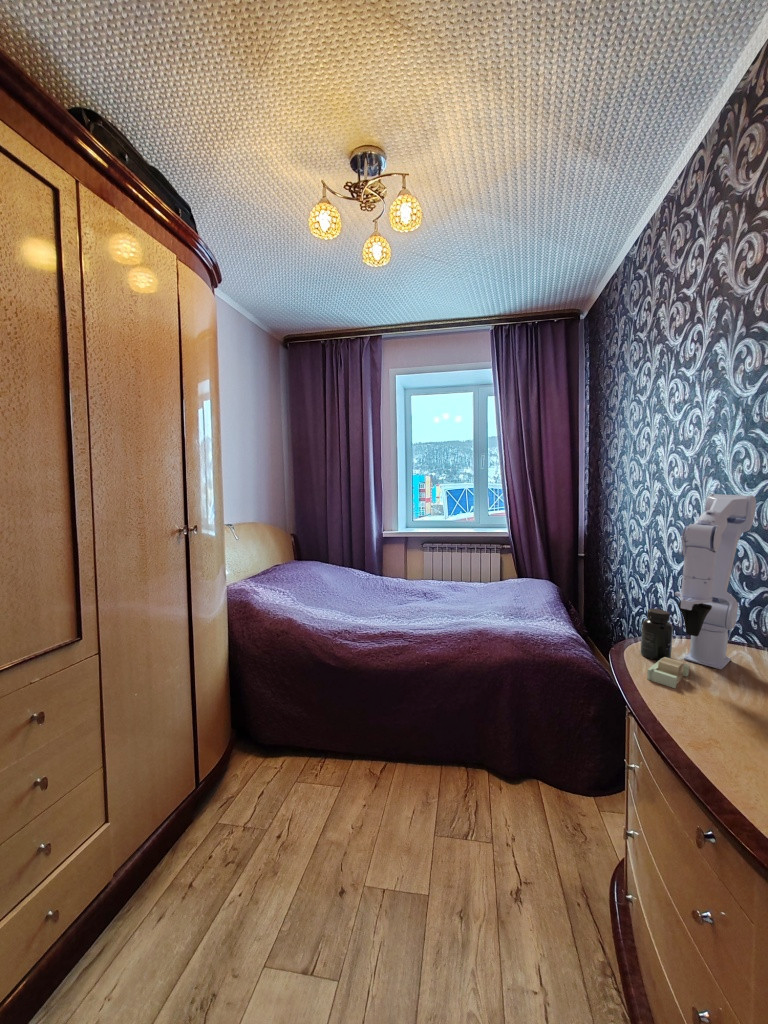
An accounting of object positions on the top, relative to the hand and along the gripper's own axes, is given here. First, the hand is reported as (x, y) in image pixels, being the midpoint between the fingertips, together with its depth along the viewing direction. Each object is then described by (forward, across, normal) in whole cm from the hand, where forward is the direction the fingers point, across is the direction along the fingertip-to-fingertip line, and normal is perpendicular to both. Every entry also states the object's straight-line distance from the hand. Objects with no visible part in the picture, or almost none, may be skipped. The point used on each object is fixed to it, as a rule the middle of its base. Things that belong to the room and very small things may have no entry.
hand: (692, 634), depth 103 cm
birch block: (+11, +3, -3) cm, 11 cm away
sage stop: (+10, +3, -3) cm, 11 cm away
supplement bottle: (+10, -8, -10) cm, 16 cm away
